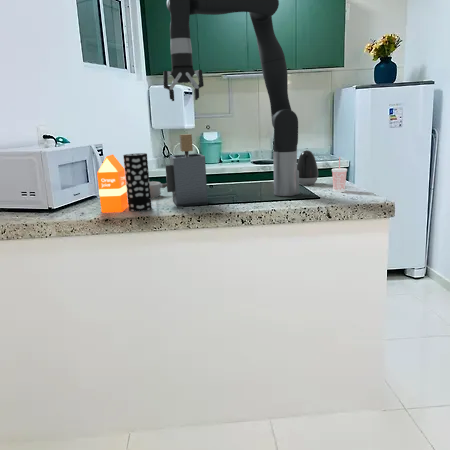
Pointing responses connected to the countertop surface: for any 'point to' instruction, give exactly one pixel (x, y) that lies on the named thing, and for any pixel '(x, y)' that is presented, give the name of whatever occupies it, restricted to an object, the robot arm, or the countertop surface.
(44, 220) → the countertop surface
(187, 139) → the plunger
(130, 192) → the spotted tube
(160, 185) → the saucepan
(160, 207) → the countertop surface
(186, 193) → the tall grey box
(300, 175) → the dark grey egg shape
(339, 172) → the beverage cup
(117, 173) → the orange juice
